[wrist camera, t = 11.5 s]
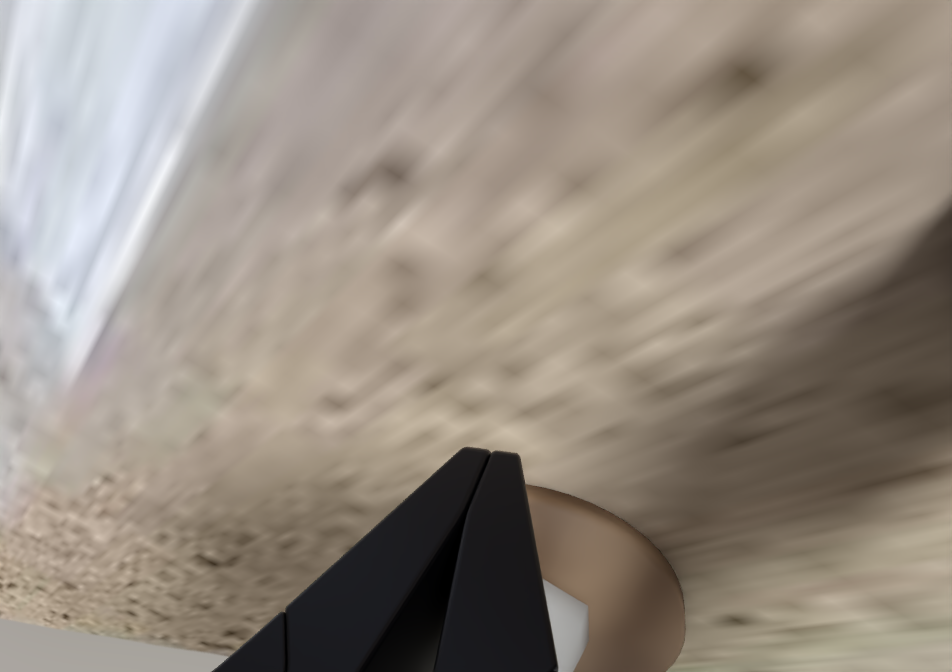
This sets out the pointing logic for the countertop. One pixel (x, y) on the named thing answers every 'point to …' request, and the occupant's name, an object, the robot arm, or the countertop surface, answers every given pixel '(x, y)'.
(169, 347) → the countertop surface
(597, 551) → the walnut board
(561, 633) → the flask
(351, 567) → the robot arm
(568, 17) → the countertop surface
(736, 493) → the countertop surface
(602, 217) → the countertop surface
